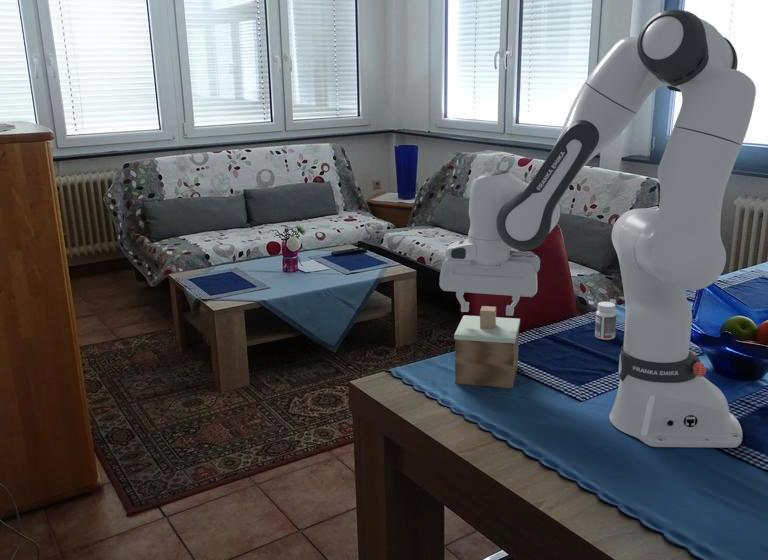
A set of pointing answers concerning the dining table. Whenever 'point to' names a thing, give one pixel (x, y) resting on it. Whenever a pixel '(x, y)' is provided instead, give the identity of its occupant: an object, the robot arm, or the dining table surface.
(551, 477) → the dining table surface
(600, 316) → the pill bottle
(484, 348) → the box
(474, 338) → the lid
